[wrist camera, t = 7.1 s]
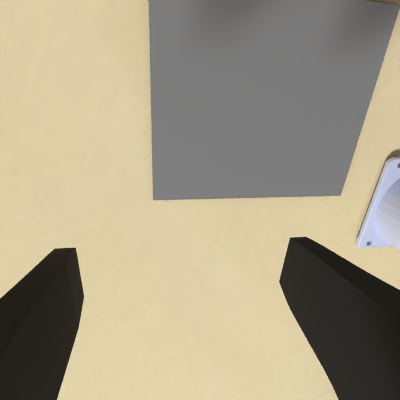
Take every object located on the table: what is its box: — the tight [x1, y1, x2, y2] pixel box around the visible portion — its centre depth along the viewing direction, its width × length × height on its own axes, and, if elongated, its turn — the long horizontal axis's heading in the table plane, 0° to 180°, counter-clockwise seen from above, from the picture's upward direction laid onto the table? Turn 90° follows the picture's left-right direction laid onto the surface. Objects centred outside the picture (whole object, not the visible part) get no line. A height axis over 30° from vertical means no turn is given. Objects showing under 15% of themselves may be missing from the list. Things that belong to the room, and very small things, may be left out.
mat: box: [149, 0, 400, 200], centre depth 17 cm, size 14×12×1 cm
